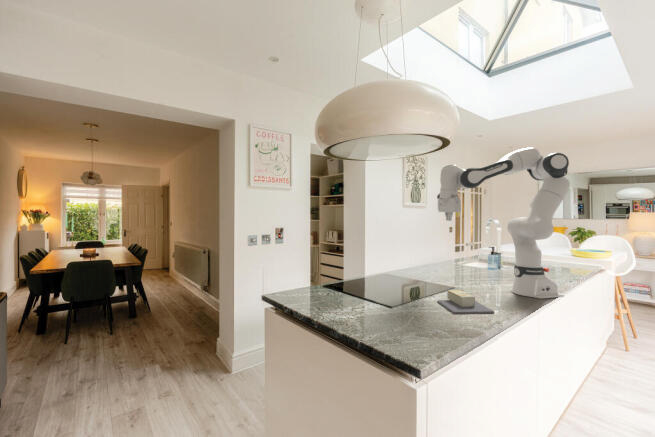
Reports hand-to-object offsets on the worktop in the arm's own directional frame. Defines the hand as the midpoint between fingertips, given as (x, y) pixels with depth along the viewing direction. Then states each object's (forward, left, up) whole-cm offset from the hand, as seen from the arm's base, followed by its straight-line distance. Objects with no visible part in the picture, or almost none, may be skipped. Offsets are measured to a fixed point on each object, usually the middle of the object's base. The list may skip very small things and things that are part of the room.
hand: (448, 220), depth 163 cm
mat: (+8, +32, -37) cm, 49 cm away
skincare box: (+8, +22, -34) cm, 41 cm away
